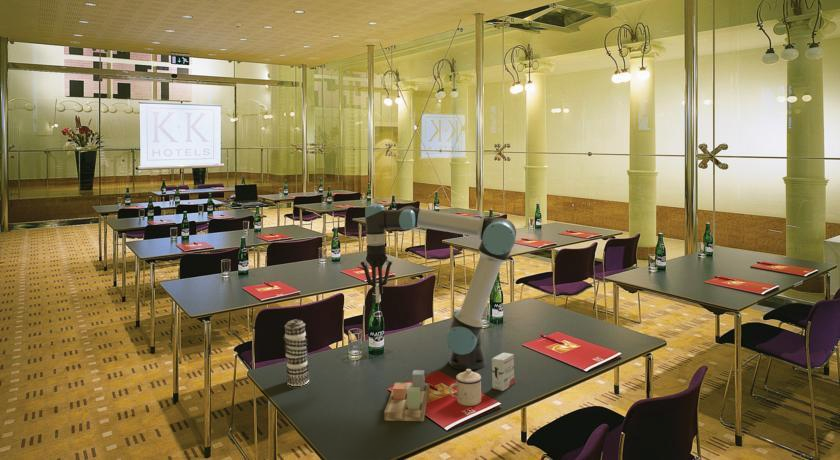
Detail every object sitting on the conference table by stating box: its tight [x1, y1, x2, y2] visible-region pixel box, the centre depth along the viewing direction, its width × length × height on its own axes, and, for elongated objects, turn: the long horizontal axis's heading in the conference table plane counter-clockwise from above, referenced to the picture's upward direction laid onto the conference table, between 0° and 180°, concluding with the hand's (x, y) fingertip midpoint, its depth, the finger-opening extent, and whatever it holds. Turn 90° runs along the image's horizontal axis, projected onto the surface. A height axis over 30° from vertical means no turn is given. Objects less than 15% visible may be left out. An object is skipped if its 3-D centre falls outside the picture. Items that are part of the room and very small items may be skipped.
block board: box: [383, 382, 431, 422], centre depth 198 cm, size 13×24×3 cm, turn 174°
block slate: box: [411, 369, 426, 391], centre depth 204 cm, size 4×4×6 cm
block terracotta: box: [392, 383, 406, 400], centre depth 198 cm, size 4×4×6 cm
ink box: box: [491, 352, 515, 392], centre depth 211 cm, size 8×5×12 cm, turn 140°
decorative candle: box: [283, 318, 310, 387], centre depth 219 cm, size 9×9×25 cm
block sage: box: [407, 387, 421, 410], centre depth 190 cm, size 4×4×6 cm
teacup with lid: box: [448, 369, 483, 407], centre depth 199 cm, size 12×9×12 cm
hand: (378, 301), depth 225 cm, fingers closed
